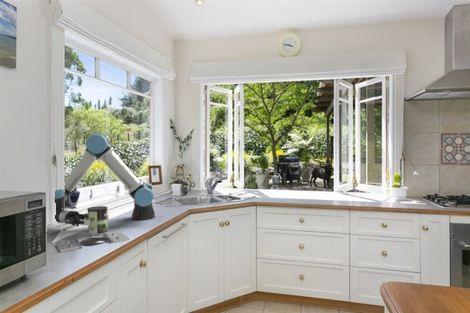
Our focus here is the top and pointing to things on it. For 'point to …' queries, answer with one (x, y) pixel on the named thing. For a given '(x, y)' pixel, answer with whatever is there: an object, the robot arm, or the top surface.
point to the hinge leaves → (90, 241)
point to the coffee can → (98, 220)
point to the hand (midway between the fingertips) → (99, 220)
